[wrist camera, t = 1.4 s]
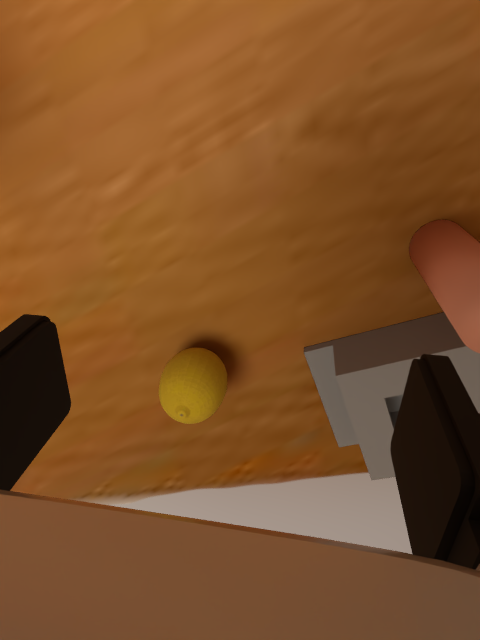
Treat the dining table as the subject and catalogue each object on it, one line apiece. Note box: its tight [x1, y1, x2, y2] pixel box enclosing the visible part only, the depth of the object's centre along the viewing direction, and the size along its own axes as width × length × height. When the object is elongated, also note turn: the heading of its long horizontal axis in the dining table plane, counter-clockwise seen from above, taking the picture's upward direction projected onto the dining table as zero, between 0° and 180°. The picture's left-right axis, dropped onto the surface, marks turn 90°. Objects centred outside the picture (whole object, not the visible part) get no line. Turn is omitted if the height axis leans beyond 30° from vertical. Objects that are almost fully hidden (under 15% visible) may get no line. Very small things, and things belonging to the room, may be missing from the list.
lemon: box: [159, 347, 227, 424], centre depth 36 cm, size 6×6×8 cm
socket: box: [304, 312, 480, 480], centre depth 35 cm, size 16×11×5 cm
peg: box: [409, 220, 480, 353], centre depth 26 cm, size 4×4×12 cm
